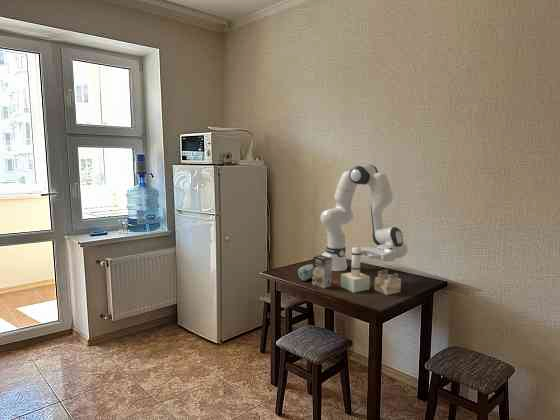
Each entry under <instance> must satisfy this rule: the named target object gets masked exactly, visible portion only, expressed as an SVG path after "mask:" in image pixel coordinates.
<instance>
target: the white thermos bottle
mask: <svg viewBox="0 0 560 420" xmlns="http://www.w3.org/2000/svg"><path fill="white" fill-rule="evenodd" d="M351 249H352V250H351V266H350V271H351V272H350V273H351V276H354V277H359V276H360V273H361V269H362V268H361V259H362V255H361V247H357V246H356V247H351Z"/></svg>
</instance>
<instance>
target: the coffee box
mask: <svg viewBox="0 0 560 420" xmlns="http://www.w3.org/2000/svg"><path fill="white" fill-rule="evenodd" d="M312 264H313V278H311V279H312V281H311V283H312V285H313V286H315V285H316V286H317V287H318V286H319V287H318V288H321V287H322V288H321V289H326V287H327V288H330V287H332V285H331V282H332V275H333V274H332V272H333V271H332V258H330V257H326V256H323V255H322V254H319V255H314V256H313V257H312Z"/></svg>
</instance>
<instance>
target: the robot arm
mask: <svg viewBox="0 0 560 420" xmlns="http://www.w3.org/2000/svg"><path fill="white" fill-rule="evenodd" d="M358 185H365V186H366V185H368V186H369V188H370V192H371V197H372V203H371V206H370V216H371V224H372V225H371V226H372V240H373V242H374V244H376V245H377V246H376V247H372V246H363V247H360V248H361V256H362V255H363V256H366V257H369V259H371V260H373V259H376V260H378V261H382V262H395V261H396V260H395V259H400V258H403V257H405V255H407V253H408V249H409V248H408V246H407V244H406V243H405V242H404V240H403V233H402V231H401V229H400V228H399V227H397V226H392V227H390V226H389V227H384V226H383V217H382V213H383V211H384V210H385V209H386V208H387V207H389V206H390V204H391V203H392V201H393V193H392V188H391V185H390V181H389V179H388V176H387V175H386V174H385V173H383V172H379V170H378V168H377V167H376V166H374V165H372V164H361V165H356V166H354V167H352V168H351V169H350V170H345V171H344V172H343V173H342V175H341V176H340V178H339V180H338V183H337V186H336V189H335V191H334V192H335V193H334V195H333V197H334V200H335V203H336V204H335V207H334V208H328V209H326V210H324V211H322V212H321V214H320V216H319V217H320V222H321V224H322V225H323V226H324V227H325V230H326V234H327V235H326V236H327V246H325V251H324V252H323V253H322V254H321V255H323V256H326V257H330V258H332V272H344V271H347V270H348V269H347V268H348V264H347V255H346V252H347V251H346V234H345V233H344V232H343V230H342V227H341V226H342V225H347V224H349V223H350V222H352V221H353V218H354V212H353V210H352V201H353V199H354V195H355V191H356V190H357V186H358Z"/></svg>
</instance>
